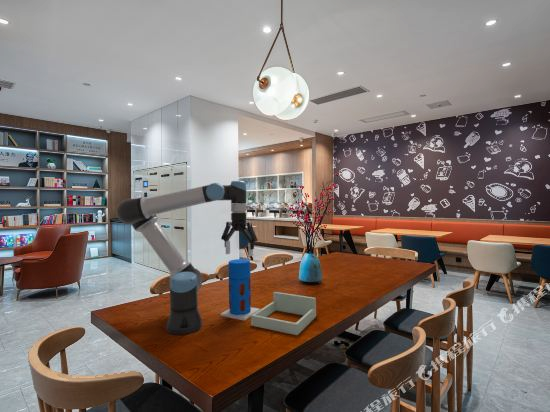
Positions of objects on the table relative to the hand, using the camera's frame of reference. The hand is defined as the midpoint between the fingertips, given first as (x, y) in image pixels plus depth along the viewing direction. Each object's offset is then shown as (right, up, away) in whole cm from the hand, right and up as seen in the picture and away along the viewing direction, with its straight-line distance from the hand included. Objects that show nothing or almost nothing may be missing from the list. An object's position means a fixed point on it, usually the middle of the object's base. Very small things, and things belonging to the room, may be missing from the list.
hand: (239, 255), depth 148 cm
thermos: (0, -28, +1) cm, 28 cm away
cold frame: (+22, -29, -10) cm, 38 cm away
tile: (+1, -29, 0) cm, 29 cm away
